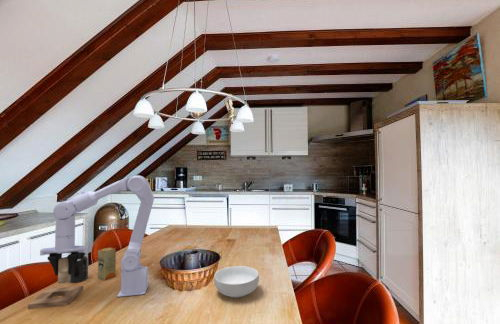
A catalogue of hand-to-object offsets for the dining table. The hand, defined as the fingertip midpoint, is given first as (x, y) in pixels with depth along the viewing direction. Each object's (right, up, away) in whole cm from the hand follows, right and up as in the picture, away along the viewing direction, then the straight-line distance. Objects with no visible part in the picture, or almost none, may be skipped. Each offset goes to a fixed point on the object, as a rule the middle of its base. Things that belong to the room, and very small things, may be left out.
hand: (64, 274), depth 92 cm
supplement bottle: (-7, -11, +18) cm, 22 cm away
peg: (0, -3, 0) cm, 3 cm away
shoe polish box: (+4, -11, +20) cm, 23 cm away
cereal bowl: (+61, -9, +5) cm, 62 cm away
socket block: (-4, -10, +2) cm, 10 cm away
